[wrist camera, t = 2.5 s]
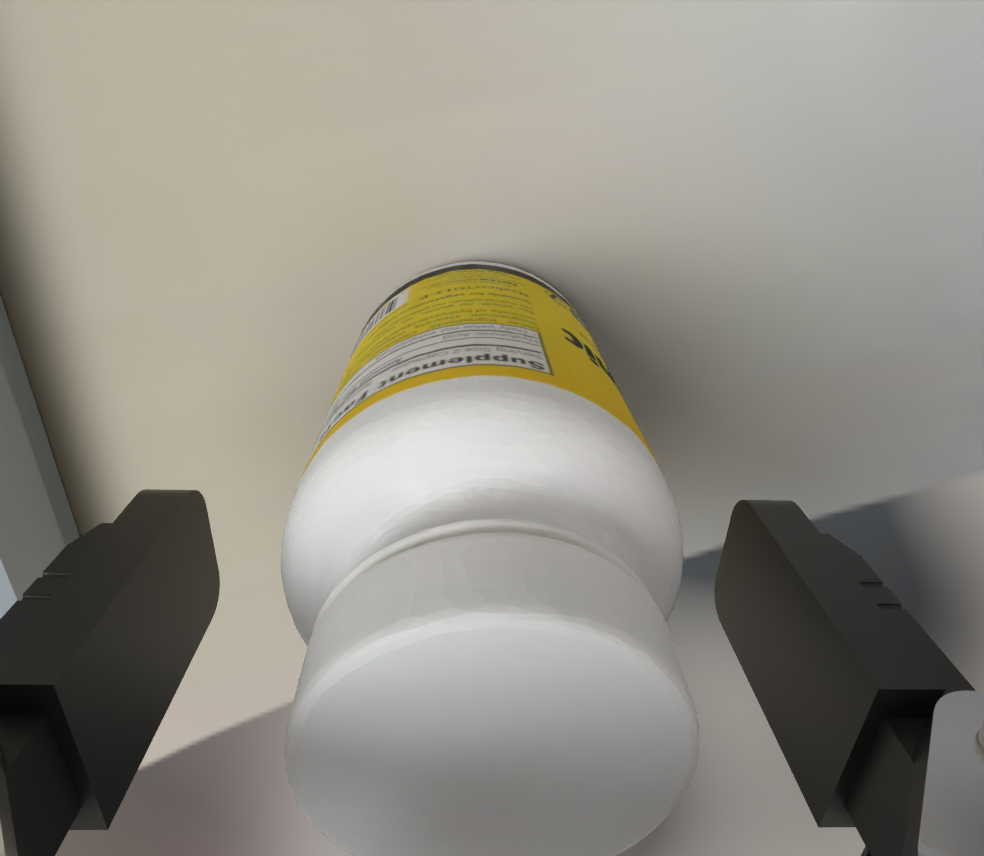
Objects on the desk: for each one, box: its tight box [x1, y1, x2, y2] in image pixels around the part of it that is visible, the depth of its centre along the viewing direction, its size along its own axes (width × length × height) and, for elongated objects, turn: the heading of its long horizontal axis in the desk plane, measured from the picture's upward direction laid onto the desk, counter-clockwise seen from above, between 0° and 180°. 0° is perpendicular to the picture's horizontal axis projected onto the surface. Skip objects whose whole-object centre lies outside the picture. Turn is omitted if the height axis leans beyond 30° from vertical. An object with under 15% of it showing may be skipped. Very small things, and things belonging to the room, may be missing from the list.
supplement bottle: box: [281, 261, 699, 856], centre depth 10 cm, size 5×5×10 cm
